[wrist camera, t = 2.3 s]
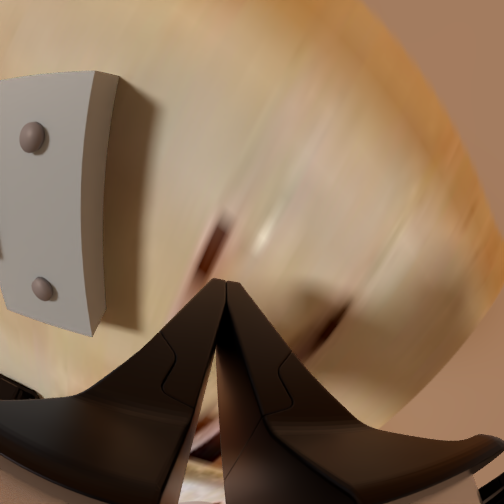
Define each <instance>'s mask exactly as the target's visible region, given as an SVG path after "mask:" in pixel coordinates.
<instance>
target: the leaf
mask: <svg viewBox="0 0 504 504" xmlns="http://www.w3.org/2000/svg"><path fill="white" fill-rule="evenodd" d="M118 80H119V76H117V75H112V74H108V73H103V72H99V71H73V72H58V73H47V74H38V75H30V76H23V77H16V78H10V79H5V80H0V287H1V290H2V294H3V297H4V301H5V304H6V307H7V309H8V310H10V311H13V312H15V313H18V314H21V315H23V316H26V317H29V318H32V319H35V320H38V321H40V322H43V323H46V324H49V325H53V326H56V327H59V328H62V329H65V330H69V331H72V332H75V333H79V334H82V335H86V336H90V337H93V335H94V333H95V331H96V329H97V327H98V324H99V322H100V320H101V318H102V316H103V314H104V312H105V310H106V298H105V284H104V265H103V203H104V184H105V170H106V159H107V149H108V141H109V133H110V125H111V119H112V112H113V106H114V101H115V95H116V90H117V85H118Z"/></svg>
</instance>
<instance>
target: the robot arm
mask: <svg viewBox="0 0 504 504" xmlns="http://www.w3.org/2000/svg"><path fill="white" fill-rule="evenodd" d="M215 349H216V368H217V390H218V408H219V425H220V440H221V453H222V466H223V477H224V489H225V499H226V504H504V472H503V473H502V474H500V475H499V476H498V477H496V478H495V479H493V480H492V481H491V482H489V483H487V484H486V485H484V486H483V487H481V488H480V489H478V488H477V485H476V482H475V479H474V477H473V474H474V473H476V472H477V471H478V470H480V469H481V468H483V467H484V466H486V465H487V464H488V463H490V462H491V461H492V460H494V459H495V458H496V457H497V456H499V455H500V454H501V453H502V452H503V451H504V441H503V440H502V439H500V438H498V437H494V436H490V435H484V434H478V435H476V436H473V437H471V438H469V439H465V440H460V441H443V440H434V439H427V438H420V437H414V436H408V435H403V434H397V433H392V432H387V431H382V430H378V429H374V428H372V427H369V426H367V425H365V424H364V423H362V422H361V421H359V420H358V419H357V418H355V417H354V416H353V415H352V414H351V413H350V412H349V411H348V410H347V409H346V408H345V407H344V406H343V405H342V404H341V403H340V402H338V401H337V400H336V399H335V398H334V397H333V396H332V395H331V394H330V393H329V392H328V391H327V390H326V389H325V388H324V387H323V386H322V385H321V384H320V383H319V382H318V381H317V380H316V379H315V377H314V376H313V375H312V374H311V373H310V372H309V371H308V370H307V369H306V367H305V366H304V365H303V364H302V363H301V361H300V360H299V359H298V358H297V356H296V355H295V354H294V353H293V352H292V350H291V349H290V348H289V346H288V345H287V344H286V342H285V341H284V340H283V339H282V337H281V336H280V335H279V333H278V332H277V331H276V330H275V328H274V327H273V326H272V324H271V323H270V322H269V321H268V319H267V318H266V317H265V315H264V314H263V313H262V311H261V310H260V309H259V307H258V306H257V305H256V304H255V302H254V301H253V300H252V298H251V297H250V296H249V294H248V293H247V292H246V290H245V289H244V288H243V286H242V285H241V284H240V283H238V282H233V281H227V282H226V281H225V280H221V279H216V278H213V279H211V280H210V281H209V282H208V283H207V284H206V285H205V286H204V287H203V288H202V289H201V290H200V291H199V292H198V293H197V294H196V295H195V296H194V297H193V298H192V299H191V300H190V301H189V302H188V303H187V304H186V305H185V306H184V307H183V308H182V309H181V310H180V311H179V312H178V313H177V314H176V315H175V316H174V317H173V318H172V319H171V320H170V321H169V322H168V323H167V324H166V325H165V326H164V327H163V328H162V329H161V330H160V331H159V333H157V334H156V335H155V336H154V337H153V338H152V339H151V340H150V341H149V342H148V343H147V344H146V345H145V346H144V347H143V348H142V349H141V350H139V351H138V352H137V353H136V354H134V355H133V356H132V357H131V358H129V359H128V360H127V361H126V362H124V363H123V364H122V365H120V366H119V367H118V368H116V369H115V370H113V371H112V372H111V373H109V374H108V375H107V376H105V377H104V378H103V379H101V380H100V381H99V382H97V383H96V384H94V385H93V386H92V387H90V388H89V389H87V390H85V391H83V392H81V393H79V394H77V395H73V396H69V397H60V398H47V399H39V397H38V396H37V394H36V393H35V392H33V391H32V390H29V389H27V388H25V387H23V386H21V385H19V384H17V383H15V382H13V381H11V380H9V379H7V378H5V377H3V376H1V375H0V504H178V501H179V496H180V492H181V488H182V484H183V479H184V475H185V471H186V467H187V463H188V459H189V454H190V450H191V446H192V442H193V438H194V434H195V430H196V426H197V422H198V418H199V414H200V410H201V406H202V402H203V398H204V394H205V390H206V386H207V382H208V378H209V374H210V370H211V366H212V362H213V358H214V354H215Z"/></svg>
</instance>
